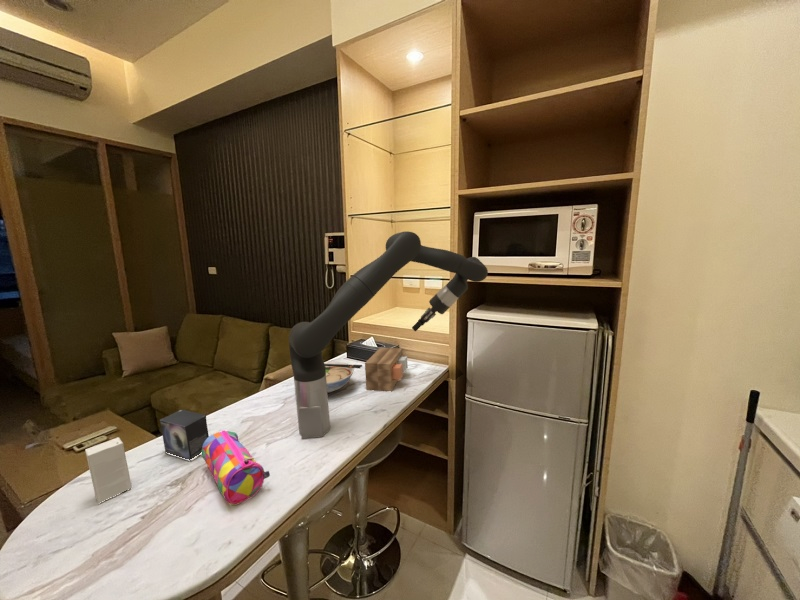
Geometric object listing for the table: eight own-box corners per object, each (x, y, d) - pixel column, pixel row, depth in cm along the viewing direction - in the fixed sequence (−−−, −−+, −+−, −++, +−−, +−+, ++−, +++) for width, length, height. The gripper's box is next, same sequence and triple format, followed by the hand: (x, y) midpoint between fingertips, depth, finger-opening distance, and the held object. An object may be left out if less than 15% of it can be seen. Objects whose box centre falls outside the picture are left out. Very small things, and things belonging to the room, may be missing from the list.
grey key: (389, 370, 132) (388, 359, 132) (392, 366, 137) (391, 355, 136) (405, 371, 131) (404, 360, 130) (407, 367, 136) (407, 356, 135)
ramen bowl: (281, 399, 118) (278, 378, 116) (314, 376, 139) (312, 358, 138) (341, 406, 110) (339, 384, 109) (366, 380, 132) (365, 362, 131)
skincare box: (128, 481, 77) (119, 436, 75) (132, 489, 74) (123, 442, 72) (94, 496, 72) (84, 448, 70) (97, 505, 70) (87, 456, 68)
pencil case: (273, 490, 72) (269, 454, 71) (229, 515, 65) (223, 476, 64) (238, 451, 87) (235, 421, 86) (200, 469, 80) (195, 436, 79)
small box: (163, 455, 87) (157, 419, 85) (186, 441, 93) (181, 408, 91) (189, 463, 83) (183, 426, 81) (212, 448, 89) (207, 413, 87)
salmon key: (383, 379, 124) (382, 367, 123) (386, 374, 128) (386, 362, 128) (400, 380, 122) (399, 368, 121) (403, 375, 127) (402, 363, 126)
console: (366, 390, 123) (364, 363, 121) (381, 371, 142) (380, 347, 140) (391, 391, 120) (389, 364, 119) (402, 372, 140) (401, 348, 138)
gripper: (439, 290, 129) (410, 319, 134) (434, 295, 116) (403, 326, 121) (452, 303, 129) (423, 332, 133) (449, 309, 116) (417, 340, 121)
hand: (413, 329), depth 127 cm, fingers closed
